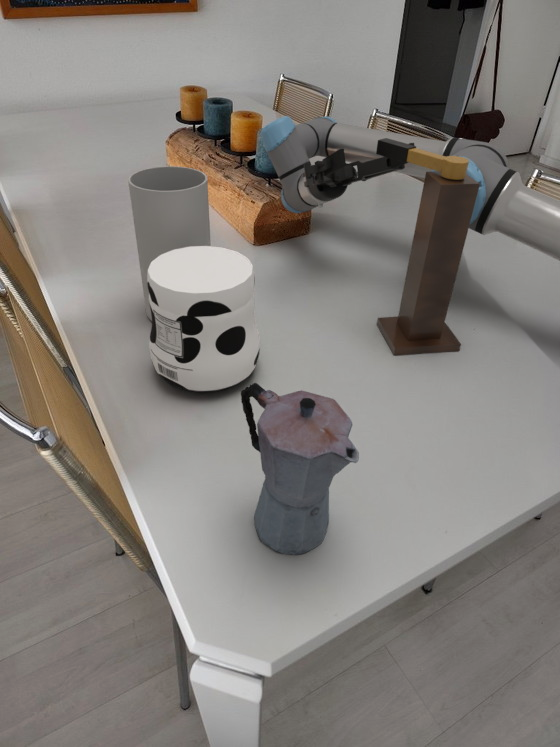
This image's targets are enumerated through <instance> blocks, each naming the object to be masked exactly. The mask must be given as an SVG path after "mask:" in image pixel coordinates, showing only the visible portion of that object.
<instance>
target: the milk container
mask: <svg viewBox="0 0 560 747" xmlns="http://www.w3.org/2000/svg"><path fill="white" fill-rule="evenodd" d="M255 284H256V277H255V270H254V265H253V264H252V262H251V260H250V259H249V258H248V257H247V256H245V255H244V254H242V253H240V252H238V251H237V250H232V249H229V248H225V247H220V246H213V245H211V246H190V247H185V248H180V249H174V250H172V251H169V252H167V253H164V254H161V255H160V256H158V257H157V258H156V259H155V260H153V261H152V262H151V264H150V266H149V268H148V272H147V285H148V291H149V304H150V309H151V316H152V321H151V328H150V332H149V339H148V349H149V350H148V351H149V355H150V358H151V362H152V364H153V367H154V369H155V371H156V373H157V374H158V376H159V377H161V378H162V379H163V381H165V383H167V384H168V385H171V386H173V387H175V388H178V389H181V390H184V391H189V392H196V393H197V392H198V393H208V392H209V393H211V392H219V391H222V390H226V389H229V388H232V387H234V386H237V385H238V384H240V383H242V382H243V381H245V380H246V379H247V378H248V377H249V376H250V375H251V374H252V373H253V371H254V370H255V368H256V367H257V364H258V360H259V357H260V351H261V338H260V333H259V329H258V325H257V323H256V316H255V304H256V292H255V286H256V285H255Z"/></svg>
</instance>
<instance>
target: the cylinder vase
mask: <svg viewBox="0 0 560 747" xmlns="http://www.w3.org/2000/svg"><path fill="white" fill-rule="evenodd" d="M127 182H128V190H129V197H130V205H131V211H132V218H133V225H134V234H135V240H136V248H137V249H136V250H137V256H138V262H139V271H140V277H141V285H142V292H143V299H144V306H145V313H146V315H147V316H146V317H147V318H148V319H149V320H150V321H151V322H152V316H151V309H150V304H149V291H148V285H147V272H148V268H149V266H150V264H151V262H152V261H153V260H155V259H156V258H157V257H158V256H160V255H161V254H164V253H167V252H169V251H172V250H174V249H180V248H185V247H190V246H212V245H211V244H212V243H211V225H210V224H211V220H210V203H209V202H210V201H209V182H208V175H207V174H206V173H205V172H203V171H201V170H199V169H195V168H191V167H186V166H178V165H177V166H175V165H170V166H169V165H167V166H165V165H164V166H154V167H148V168H144V169H141V170H140V169H139V170H137V171H135V172H133V173H131V174H130V175H129V176H128V178H127Z"/></svg>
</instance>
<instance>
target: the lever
mask: <svg viewBox="0 0 560 747" xmlns="http://www.w3.org/2000/svg"><path fill="white" fill-rule="evenodd" d="M376 154H378V155H381V156H384V157H387V158H390V159H394V160H397V161H400V162H403V163H407V162H409V163H413V164H416V165H419V166H422V167H426V168H429V169H432V170H435V171H439V172H441V176H442V177H444V178H447V179H452V180H461V179H464V178H465V177H466V172H467V168H468V164H469V160H468V159H466V158H464V157H459V156H447V157H445V156H442V155H438V154H435V153H431V152H428V151H424V150H421V149H417V148H416V146H413V145H410V144H406V143H403V142H399V141H396V140H392V139H388V138H384V139H380V140H378V143H377V151H376Z"/></svg>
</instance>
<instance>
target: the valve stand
mask: <svg viewBox="0 0 560 747" xmlns="http://www.w3.org/2000/svg"><path fill="white" fill-rule="evenodd" d="M479 186H480V183H478V182H477V181H476V180H474V179H473V178H472V177H470V176H469V175H468V174H466V177H465V178H464V179H461V180H452V179H447V178H444V177H442V176H441V172H439V171H428V172H426V175H425V178H424V181H423V187H422V190H421V197H420V201H419V207H418V212H417V218H416V222H415V227H414V232H413V237H412V243H411V248H410V254H409V258H408V262H407V269H406V274H405V278H404V283H403V290H402V294H401V300H400V305H399V310H398V315H397V316H384V317H383V316H382V317H377V321H376V326H377V328H378V329H379V332H380V333H381V335H382V337H383V338H384V340H385V342H386V344H387V346H388V347H389V350H390V351H391V353H392V355H393V356H405V355H418V354H419V355H420V354H421V355H422V354H434V353H449V352H459V351H460V349H461V346H462V343H461V342H460V341H459V339H458V338H457V336H456V335H455V334H454V332H453V330H452V329H451V328H450V327H449V326H448V324H447V323H446V319H447V314H448V310H449V307H450V302H451V300H452V299H451V298H452V295H453V291H454V287H455V284H456V279H457V276H458V271H459V268H460V263H461V258H462V256H463V252H464V247H465V244H466V240H467V236H468V232H469V230H470V229H469V225H470V221H471V217H472V213H473V209H474V205H475V201H476V197H477V194H478V190H479Z"/></svg>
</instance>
